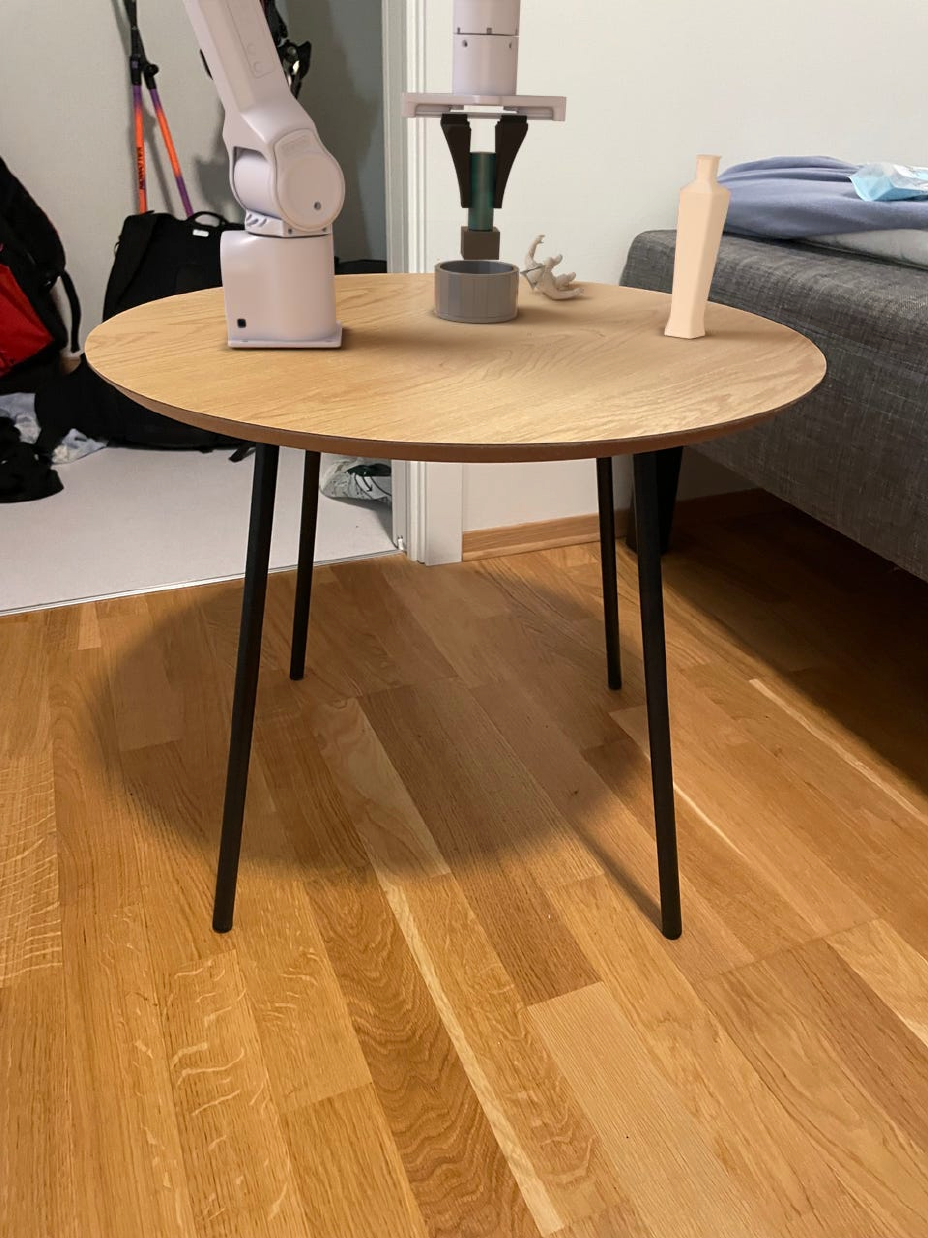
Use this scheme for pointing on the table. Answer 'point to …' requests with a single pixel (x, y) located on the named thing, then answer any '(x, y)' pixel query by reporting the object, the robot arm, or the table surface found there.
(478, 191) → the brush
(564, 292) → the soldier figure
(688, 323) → the peach faceted vase
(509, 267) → the low gray pot
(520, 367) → the table surface
